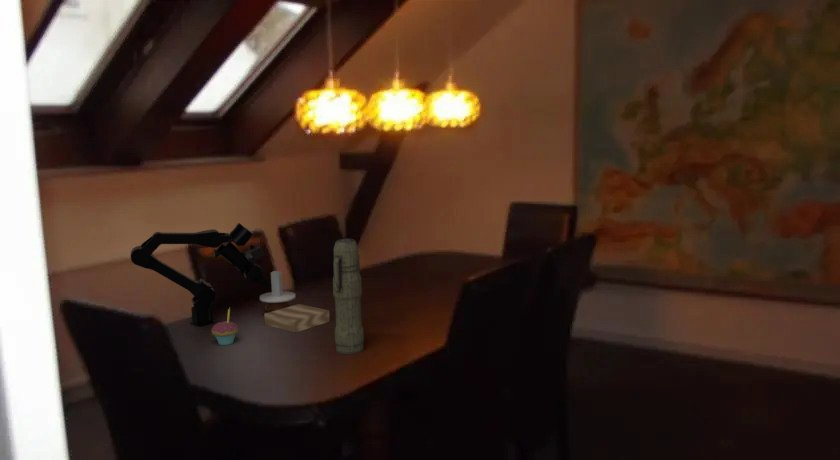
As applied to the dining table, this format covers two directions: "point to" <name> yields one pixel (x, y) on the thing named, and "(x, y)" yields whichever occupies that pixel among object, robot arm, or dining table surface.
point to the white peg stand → (277, 290)
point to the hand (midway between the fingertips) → (266, 283)
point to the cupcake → (225, 331)
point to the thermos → (347, 297)
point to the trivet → (296, 318)
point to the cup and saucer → (275, 306)
